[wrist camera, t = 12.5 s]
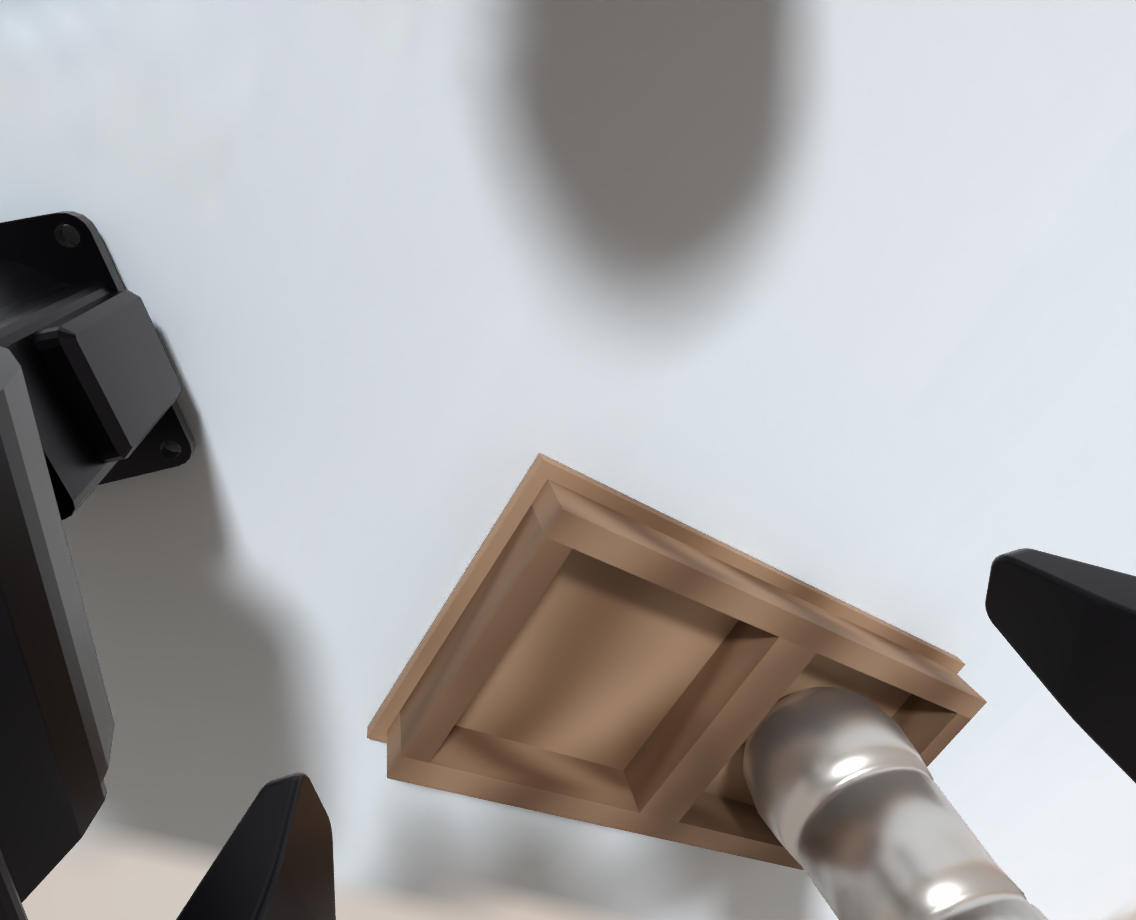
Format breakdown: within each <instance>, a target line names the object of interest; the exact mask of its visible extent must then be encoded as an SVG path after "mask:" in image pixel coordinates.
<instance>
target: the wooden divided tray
mask: <svg viewBox="0 0 1136 920" xmlns="http://www.w3.org/2000/svg"><path fill="white" fill-rule="evenodd" d="M964 665H965V664H964V663H963V662H962V661H961V660H960V659H959V658H958V657H956V656H954V655H952V654H950V653H948V652H946V651H944V650H942V649H940V648H938V647H936V646H933V645H931V644H929V643H927V642H925V641H923V640H921V639H919V638H917V637H915V636H913V635H911V634H909V633H907V632H905V631H903V630H901V629H899V628H897V627H895V626H893V625H890V624H888V623H886V622H884V621H882V620H880V619H878V618H876V617H874V616H872V615H870V614H868V613H866V612H864V611H862V610H860V609H858V608H856V607H854V606H852V605H850V604H847V603H845V602H843V601H841V600H839V599H837V598H835V597H833V596H831V595H829V594H827V593H825V592H823V591H821V590H819V589H817V588H815V587H813V586H811V585H809V584H807V583H804V582H802V581H800V580H798V579H796V578H794V577H792V576H790V575H788V574H786V573H784V572H782V571H780V570H778V569H776V568H774V567H772V566H770V565H768V564H766V563H764V562H761V561H759V560H757V559H755V558H753V557H751V556H749V555H747V554H745V553H743V552H741V551H739V550H737V549H735V548H733V547H731V546H729V545H727V544H725V543H723V542H721V541H718V540H716V539H714V538H712V537H710V536H708V535H706V534H704V533H702V532H700V531H698V530H696V529H694V528H692V527H690V526H688V525H686V524H684V523H682V522H680V521H678V520H675V519H673V518H671V517H669V516H667V515H665V514H663V513H661V512H659V511H657V510H655V509H653V508H651V507H649V506H647V505H645V504H643V503H641V502H639V501H637V500H635V499H632V498H630V497H628V496H626V495H624V494H622V493H620V492H618V491H616V490H614V489H612V488H610V487H608V486H606V485H604V484H602V483H600V482H598V481H596V480H594V479H592V478H589V477H587V476H585V475H583V474H581V473H579V472H577V471H575V470H573V469H571V468H569V467H567V466H565V465H563V464H561V463H559V462H557V461H555V460H553V459H551V458H549V457H546V456H544V455H542V454H540V453H539V454H538V456H537V458H536V459H535V461H534V462H533V464H532V466H531V467H530V469H529V470H528V472H527V474H526V475H525V477H524V478H523V480H522V482H521V483H520V485H519V486H518V488H517V490H516V491H515V493H514V494H513V496H512V498H511V499H510V501H509V502H508V504H507V506H506V507H505V509H504V510H503V512H502V513H501V515H500V517H499V518H498V520H497V521H496V523H495V525H494V526H493V528H492V529H491V531H490V533H489V534H488V536H487V537H486V539H485V541H484V542H483V544H482V545H481V547H480V549H479V550H478V552H477V553H476V555H475V557H474V558H473V560H472V561H471V563H470V565H469V566H468V568H467V569H466V571H465V573H464V574H463V576H462V577H461V579H460V580H459V582H458V584H457V585H456V587H455V588H454V590H453V592H452V593H451V595H450V596H449V598H448V600H447V601H446V603H445V604H444V606H443V608H442V609H441V611H440V612H439V614H438V616H437V617H436V619H435V620H434V622H433V624H432V625H431V627H430V628H429V630H428V632H427V633H426V635H425V636H424V638H423V639H422V641H421V643H420V644H419V646H418V647H417V649H416V651H415V652H414V654H413V655H412V657H411V659H410V660H409V662H408V663H407V665H406V667H405V668H404V670H403V671H402V673H401V675H400V676H399V678H398V679H397V681H396V683H395V684H394V686H393V687H392V689H391V691H390V692H389V694H388V695H387V697H386V699H385V700H384V702H383V703H382V705H381V706H380V708H379V710H378V711H377V713H376V714H375V716H374V718H373V719H372V721H371V722H370V724H369V726H368V730H367V738H369V739H374V740H378V741H382V742H386V743H387V778H389V779H394V780H398V781H403V782H407V783H412V784H416V785H421V786H425V787H430V788H435V789H439V790H444V791H448V792H453V793H457V794H462V795H466V796H471V797H475V798H480V799H484V800H489V801H493V802H498V803H502V804H507V805H512V806H516V807H521V808H525V809H530V810H534V811H539V812H543V813H548V814H552V815H557V816H561V817H566V818H570V819H575V820H579V821H584V822H589V823H593V824H598V825H602V826H607V827H611V828H616V829H620V830H625V831H629V832H634V833H638V834H643V835H647V836H652V837H656V838H661V839H666V840H670V841H675V842H679V843H684V844H688V845H693V846H697V847H702V848H706V849H711V850H715V851H720V852H724V853H729V854H733V855H738V856H743V857H747V858H752V859H756V860H761V861H765V862H770V863H774V864H779V865H783V866H788V867H792V868H797V869H801V870H804V869H803V867H802V866H801V864H799V863H798V862H797V861H796V860H795V859H794V858H793V856H792V855H791V854H790V853H789V852H788V851H787V850H786V849H785V847H784V846H783V845H782V844H781V843H780V842H779V840H778V839H777V838H776V836H775V835H774V834H773V832H772V831H771V830H770V828H769V827H768V826H767V824H766V823H765V822H764V820H763V819H762V818H761V816H760V815H759V814H758V812H757V809H756V806H755V804H754V801H753V798H752V796H751V793H750V790H749V788H748V785H747V782H746V780H745V777H744V774H743V758H744V749H745V744H746V739H747V738H748V737H749V735H750V734H751V733H752V732H753V730H754V729H755V728H756V727H757V726H758V724H759V723H760V722H761V721H762V719H763V718H764V717H765V716H766V715H767V713H768V712H769V711H770V710H771V709H772V707H773V706H774V705H775V704H776V703H777V702H779V701H780V700H782V699H783V698H785V697H787V696H789V695H791V694H793V693H795V692H798V691H801V690H804V689H808V688H813V687H820V686H822V687H835V688H840V689H843V690H847V691H851V692H855V693H858V694H860V695H862V696H864V697H866V698H867V699H868V700H869V701H871V702H872V703H873V704H874V705H876V706H877V707H878V708H879V709H881V710H882V711H883V712H884V713H886V714H887V715H888V716H889V717H890V718H892V719H893V720H894V721H895V722H896V723H897V724H898V725H899V726H900V728H901V729H902V730H903V732H904V733H905V735H906V736H907V738H908V739H909V740H910V742H911V743H912V745H913V746H914V748H915V749H916V750H917V752H918V753H919V755H920V757H921V758H922V760H923V762H924V764H925V765H926V767H927V766H928V765H929V764H930V763H931V762H932V761H933V760H934V759H935V758H936V757H937V756H938V755H939V753H940V752H941V751H942V750H943V749H944V748H945V747H946V746H947V745H948V744H949V743H950V742H951V740H952V739H953V738H954V737H955V736H956V735H957V734H958V733H959V732H960V731H961V730H962V729H963V727H964V726H965V725H966V724H967V723H968V722H969V721H970V720H971V719H972V718H973V717H974V716H975V714H976V713H977V712H978V711H979V710H980V709H981V708H982V707H983V706H984V705H985V704H986V703H987V702H986V701H985V700H984V699H983V698H982V697H981V696H980V695H979V694H978V693H977V692H976V691H974V690H973V689H972V688H971V687H970V686H969V685H968V684H967V683H966V682H965V681H964V680H962V679H961V678H960V677H959V676H958V675H957V673H958V672H959V671H960V670H961V669H962V668H963V667H964Z"/></svg>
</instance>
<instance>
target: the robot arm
mask: <svg viewBox="0 0 1136 920" xmlns="http://www.w3.org/2000/svg"><path fill="white" fill-rule="evenodd" d="M65 224H69V225H70V226H72V227H74V228H75V229H76V230H77V231H78V232H79V234H80V239H81V240H80V242H79V244H78V245H73V244H71V243H69V242H67V241H66V240H65V238H64V237H63V235H62V228H63V226H64V225H65ZM180 392H181V385H180V383H179V381H178V379H177V376H176V374H175V372H174V370H173V368H172V365H171V363H170V361H169V359H168V357H167V354H166V352H165V350H164V348H163V346H162V343H161V341H160V339H159V337H158V335H157V332H156V330H155V328H154V326H153V324H152V321H151V319H150V317H149V315H148V313H147V310H146V308H145V306H144V304H143V301H142V299H141V298H140V297H139V296H137V295H136V294H134V293H132V292H130V291H128V290H125V289H124V286H123V284H122V282H121V280H120V278H119V276H118V273H117V271H116V269H115V267H114V265H113V263H112V260H111V258H110V256H109V254H108V252H107V250H106V247H105V245H104V243H103V241H102V239H101V237H100V234H99V232H98V230H97V228H96V227H95V226H94V224H93V223H92V221H90V220H89V219H88V218H86V217H85V216H84V215H82V214H79V213H76V212H68V211H63V212H58V213H52V214H47V215H41V216H36V217H30V218H25V219H19V220H13V221H8V222H2V223H0V920H28V919H27V916H26V913H25V911H24V908H23V906H22V902H23V901H24V900H25V899H26V898H27V897H28V895H29V894H30V893H31V892H32V891H33V890H34V889H35V888H36V887H37V886H38V885H39V884H40V882H41V881H42V880H43V879H44V878H45V877H46V876H47V875H48V874H49V873H50V872H51V871H52V869H53V868H54V867H55V866H56V865H57V864H58V863H59V862H60V861H61V860H62V859H63V857H64V856H65V855H66V854H67V853H68V852H69V851H70V850H71V849H72V848H73V847H74V845H75V844H76V843H77V842H78V841H79V840H80V839H81V838H82V836H83V835H84V833H85V831H86V830H87V828H88V827H89V825H90V823H91V822H92V820H93V818H94V817H95V815H96V814H97V812H98V810H99V809H100V807H101V805H102V804H103V802H104V801H105V797H106V792H107V791H106V787H105V784H104V780H103V779H104V777H105V774H106V772H107V770H108V766H109V759H110V752H111V745H112V739H113V732H114V721H113V717H112V713H111V709H110V706H109V702H108V698H107V694H106V690H105V686H104V683H103V679H102V675H101V671H100V667H99V663H98V660H97V656H96V652H95V648H94V644H93V640H92V637H91V633H90V629H89V625H88V621H87V617H86V614H85V610H84V606H83V602H82V598H81V594H80V591H79V587H78V583H77V579H76V575H75V571H74V568H73V564H72V560H71V556H70V552H69V548H68V545H67V541H66V537H65V533H64V529H63V525H62V521H61V520H63V519H66V518H68V517H69V516H71V515H72V514H73V513H74V512H75V511H76V510H77V509H78V507H79V506H80V505H81V504H82V503H83V501H84V500H85V499H86V498H87V497H88V496H89V494H90V493H91V492H92V491H93V490H94V489H95V487H96V486H97V485H100V484H104V483H108V482H113V481H117V480H121V479H125V478H129V477H134V476H138V475H142V474H146V473H150V472H155V471H159V470H163V469H167V468H171V467H176V466H179V465H181V464H184V463H186V462H187V460H188V459H189V458H190V457H191V455H192V454H193V452H194V449H195V441H194V438H193V436H192V434H191V431H190V429H189V427H188V425H187V423H186V421H185V418H184V416H183V414H182V412H181V410H180V408H179V405H178V403H177V401H176V399H177V397H178V395H179V394H180ZM165 441H174V442H176V443H178V444H179V445H180V447H181V451H180V452H172V451H170V450H168V449H167V448H166V447H165V445H164V442H165ZM985 606H986V611H987V614H988V616H989V618H990V620H991V621H992V623H993V624H994V625H995V627H996V628H997V629H998V630H999V631H1000V633H1001V634H1002V635H1003V636H1004V637H1005V639H1006V640H1007V641H1008V642H1009V643H1010V645H1011V646H1012V647H1013V648H1014V649H1015V651H1016V652H1017V653H1018V654H1019V655H1020V657H1021V658H1022V659H1023V660H1024V661H1025V663H1026V664H1027V665H1028V666H1029V667H1030V669H1031V670H1032V671H1033V672H1034V674H1035V675H1036V676H1037V677H1038V678H1039V680H1040V681H1041V682H1042V683H1043V684H1044V686H1045V687H1046V688H1047V689H1048V690H1049V692H1050V693H1051V694H1052V695H1053V696H1054V698H1055V699H1056V700H1057V701H1058V702H1059V704H1060V705H1061V706H1062V707H1063V708H1064V709H1065V710H1066V712H1067V713H1068V714H1069V715H1070V716H1071V717H1072V718H1073V720H1074V721H1075V722H1076V723H1077V724H1078V725H1079V726H1080V727H1081V728H1082V729H1083V730H1084V731H1085V732H1086V733H1087V734H1088V735H1089V736H1090V737H1091V738H1092V740H1093V741H1094V742H1095V743H1096V744H1097V745H1098V746H1099V747H1100V748H1101V749H1102V750H1103V751H1104V752H1105V753H1106V754H1107V755H1108V756H1109V757H1110V758H1111V759H1112V760H1113V761H1114V762H1115V763H1116V764H1117V765H1118V766H1119V767H1120V768H1121V769H1122V770H1123V771H1124V772H1125V773H1126V774H1127V775H1128V776H1129V777H1130V778H1131V779H1132V780H1133V781H1134V782H1135V783H1136V576H1132V575H1128V574H1125V573H1121V572H1117V571H1113V570H1109V569H1106V568H1102V567H1098V566H1094V565H1090V564H1087V563H1083V562H1079V561H1075V560H1072V559H1068V558H1064V557H1060V556H1056V555H1053V554H1049V553H1045V552H1041V551H1037V550H1034V549H1027V548H1024V549H1018V550H1015V551H1012V552H1009V553H1005V554H1002V555H999V556H998V557H996V558H995V559H994V561H993V562H992V566H991V571H990V577H989V583H988V589H987V595H986V601H985ZM176 920H336V916H335V890H334V864H333V839H332V829H331V824H330V821H329V817H328V815H327V813H326V811H325V809H324V807H323V805H322V803H321V801H320V799H319V797H318V795H317V793H316V791H315V789H314V787H313V785H312V783H311V781H310V779H309V778H308V776H307V775H305V774H304V773H295V774H292V775H289V776H285V777H282V778H279V779H276V780H273V781H270V782H268V783H267V784H266V785H265V786H264V787H263V788H262V789H261V790H260V792H259V793H258V795H257V796H256V798H255V800H254V801H253V803H252V804H251V806H250V807H249V809H248V810H247V812H246V813H245V815H244V816H243V818H242V819H241V821H240V823H239V824H238V826H237V827H236V829H235V830H234V832H233V833H232V835H231V836H230V838H229V839H228V841H227V842H226V844H225V846H224V847H223V849H222V850H221V852H220V853H219V855H218V856H217V858H216V859H215V861H214V862H213V864H212V865H211V867H210V869H209V870H208V872H207V873H206V875H205V876H204V878H203V879H202V881H201V882H200V884H199V886H198V887H197V888H196V890H195V892H194V893H193V895H192V896H191V898H190V899H189V901H188V902H187V904H186V906H185V907H184V908H183V910H182V912H181V913H180V915H179V916H178V918H177V919H176Z"/></svg>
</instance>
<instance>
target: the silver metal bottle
mask: <svg viewBox="0 0 1136 920" xmlns="http://www.w3.org/2000/svg"><path fill="white" fill-rule="evenodd" d="M743 774H744V777H745V780H746V782H747V785H748V788H749V790H750V793H751V796H752V798H753V801H754V804H755V806H756V809H757V812H758V814H759V815H760V816H761V818H762V819H763V820H764V822H765V823H766V824H767V826H768V827H769V828H770V830H771V831H772V832H773V834H774V835H775V836H776V838H777V839H778V840H779V842H780V843H781V844H782V845H783V846H784V847H785V849H786V850H787V851H788V852H789V853H790V854H791V855H792V856H793V858H794V859H795V860H796V861H797V862H798V863H799V864H801V866H802V867H803V869H804V870H805V871H806V873H807V874H808V876H809V877H810V879H811V880H812V882H813V883H814V884H815V886H816V887H817V889H818V890H819V892H820V893H821V895H822V896H823V897H824V899H825V900H826V902H827V903H828V905H829V906H830V908H831V909H832V910H833V912H834V913H835V915H836V916H837V918H838V919H839V920H1048V919H1047V918H1046V917H1045V915H1044V914H1043V913H1042V912H1041V911H1040V910H1039V909H1038V908H1036V907H1035V906H1034V905H1032V904H1030V903H1029V902H1028V901H1027V899H1026V897H1025V895H1024V893H1023V892H1022V891H1021V890H1020V889H1019V888H1018V887H1017V885H1016V884H1015V883H1014V882H1013V881H1012V880H1011V879H1010V878H1009V877H1008V876H1007V875H1006V874H1005V873H1004V872H1003V871H1002V869H1001V868H1000V867H999V866H998V865H997V864H996V863H995V861H994V860H993V859H992V857H991V856H990V855H989V853H988V852H987V851H986V849H985V848H984V847H983V845H982V844H981V843H980V841H979V840H978V839H977V837H976V836H975V835H974V833H973V832H972V831H971V829H970V828H969V827H968V826H967V824H966V823H965V822H964V820H963V819H962V818H961V816H960V815H959V814H958V812H957V811H956V810H955V808H954V807H953V806H952V804H951V803H950V802H949V800H948V799H947V798H946V796H945V795H944V794H943V792H942V791H941V790H940V788H939V787H938V786H937V784H936V783H935V782H934V780H933V778H932V776H931V774H930V772H929V770H928V769H927V767H926V765H925V764H924V762H923V760H922V758H921V757H920V755H919V753H918V752H917V750H916V749H915V748H914V746H913V745H912V743H911V742H910V740H909V739H908V738H907V736H906V735H905V733H904V732H903V730H902V729H901V728H900V726H899V725H898V724H897V723H896V722H895V721H894V720H893V719H892V718H890V717H889V716H888V715H887V714H886V713H884V712H883V711H882V710H881V709H879V708H878V707H877V706H876V705H874V704H873V703H872V702H871V701H869V700H868V699H867V698H866V697H864V696H862V695H860V694H858V693H855V692H851V691H847V690H843V689H840V688H835V687H822V686H820V687H813V688H808V689H804V690H801V691H798V692H795V693H793V694H791V695H789V696H787V697H785V698H783V699H782V700H780V701H779V702H777V703H776V704H775V705H774V706H773V707H772V709H771V710H770V711H769V712H768V713H767V715H766V716H765V717H764V718H763V719H762V721H761V722H760V723H759V724H758V726H757V727H756V728H755V729H754V730H753V732H752V733H751V734H750V735H749V737H748V738H747V739H746V744H745V749H744V758H743Z"/></svg>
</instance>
